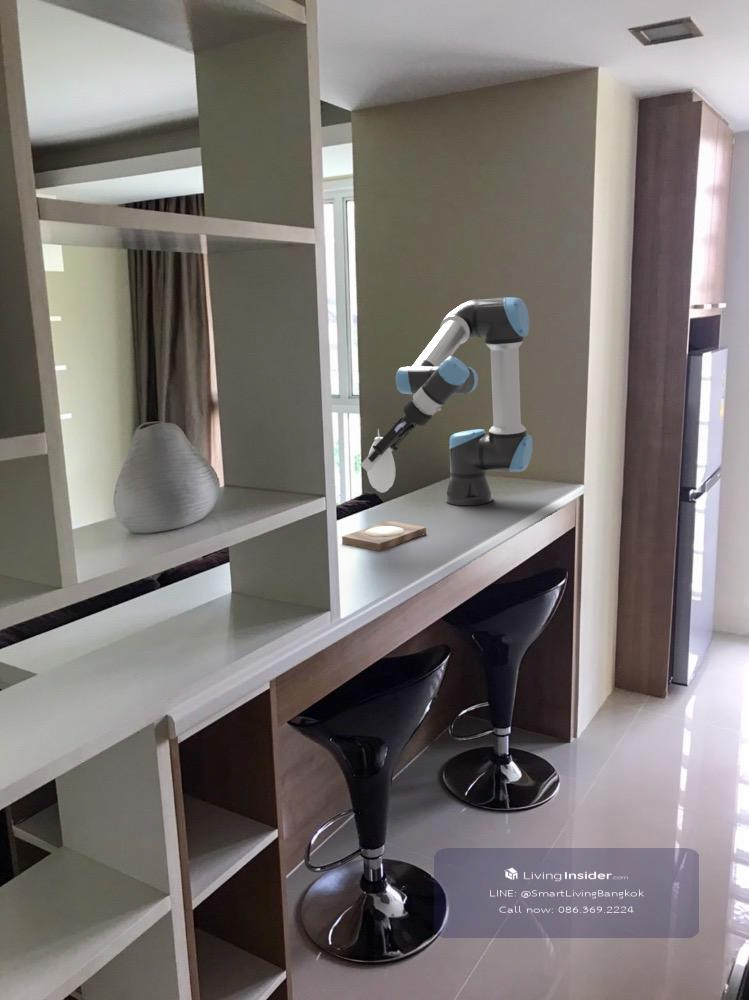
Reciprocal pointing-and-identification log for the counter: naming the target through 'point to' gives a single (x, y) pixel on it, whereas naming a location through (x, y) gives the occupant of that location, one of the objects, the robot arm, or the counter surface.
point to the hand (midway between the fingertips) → (369, 465)
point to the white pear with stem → (382, 469)
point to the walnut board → (383, 535)
